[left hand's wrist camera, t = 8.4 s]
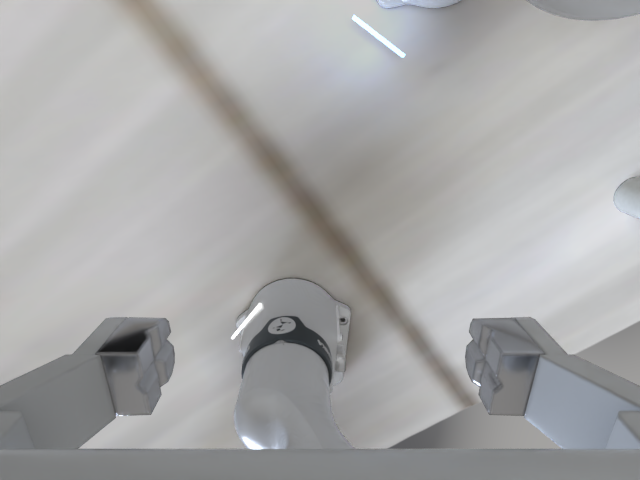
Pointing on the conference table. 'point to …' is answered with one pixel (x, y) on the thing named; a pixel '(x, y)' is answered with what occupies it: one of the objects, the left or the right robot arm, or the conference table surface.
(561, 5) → the right robot arm
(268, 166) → the conference table surface
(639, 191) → the bottle
